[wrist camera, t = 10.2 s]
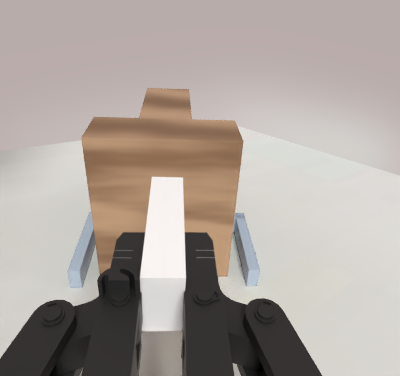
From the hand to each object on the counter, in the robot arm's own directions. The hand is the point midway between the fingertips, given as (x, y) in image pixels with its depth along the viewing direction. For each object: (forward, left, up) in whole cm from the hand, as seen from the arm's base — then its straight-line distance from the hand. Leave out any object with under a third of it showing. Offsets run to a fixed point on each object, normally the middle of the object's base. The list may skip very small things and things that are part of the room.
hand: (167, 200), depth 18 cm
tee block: (-14, +8, -15) cm, 22 cm away
